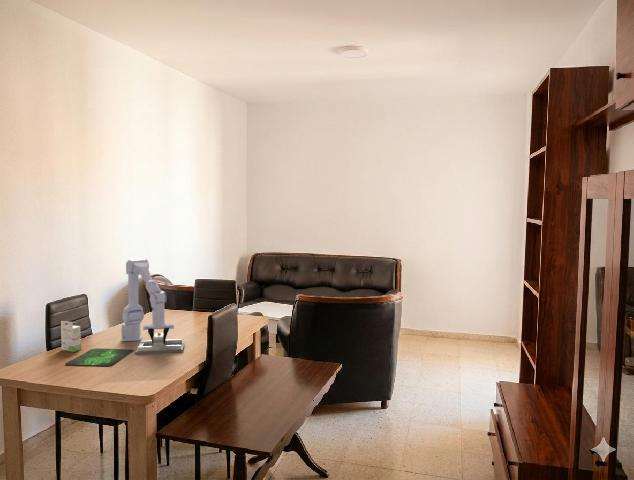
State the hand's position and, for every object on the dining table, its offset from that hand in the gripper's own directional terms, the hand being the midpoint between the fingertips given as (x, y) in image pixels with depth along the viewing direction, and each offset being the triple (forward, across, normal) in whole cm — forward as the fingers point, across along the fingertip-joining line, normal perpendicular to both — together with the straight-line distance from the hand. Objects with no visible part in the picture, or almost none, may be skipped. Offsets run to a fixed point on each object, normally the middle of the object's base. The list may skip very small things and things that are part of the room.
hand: (158, 343), depth 255 cm
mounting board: (+3, +1, 0) cm, 3 cm away
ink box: (+3, -42, +7) cm, 43 cm away
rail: (+2, +1, 0) cm, 2 cm away
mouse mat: (+4, -25, -8) cm, 27 cm away
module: (+2, 0, 0) cm, 2 cm away
